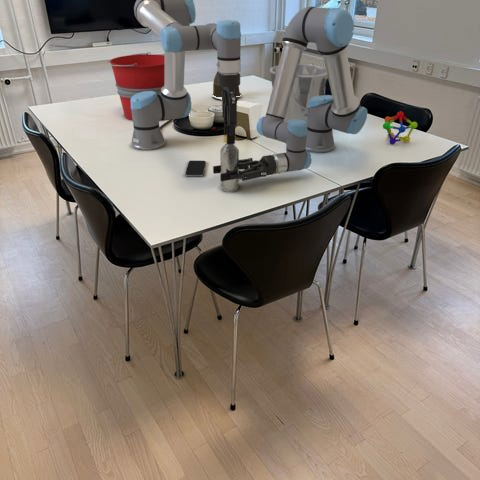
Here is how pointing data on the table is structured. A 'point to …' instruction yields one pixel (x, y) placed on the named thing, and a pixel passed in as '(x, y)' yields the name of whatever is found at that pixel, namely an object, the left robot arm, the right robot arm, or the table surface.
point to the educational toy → (398, 128)
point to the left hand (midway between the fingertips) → (229, 141)
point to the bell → (217, 88)
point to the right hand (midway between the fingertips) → (217, 173)
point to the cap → (225, 138)
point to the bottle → (229, 166)
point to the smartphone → (195, 168)
